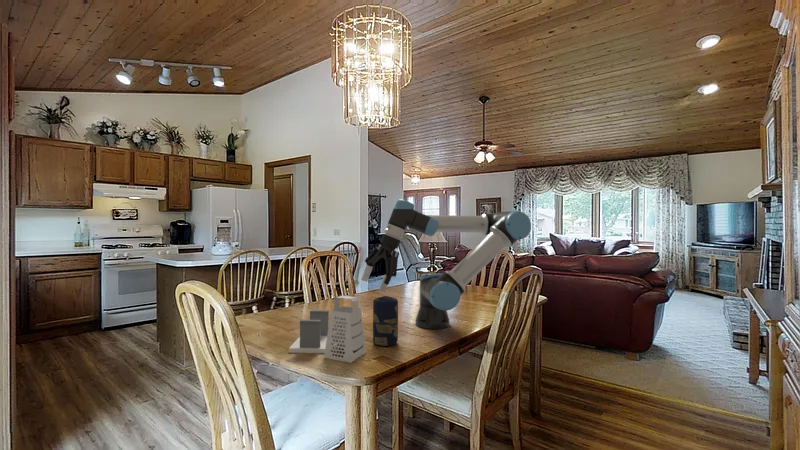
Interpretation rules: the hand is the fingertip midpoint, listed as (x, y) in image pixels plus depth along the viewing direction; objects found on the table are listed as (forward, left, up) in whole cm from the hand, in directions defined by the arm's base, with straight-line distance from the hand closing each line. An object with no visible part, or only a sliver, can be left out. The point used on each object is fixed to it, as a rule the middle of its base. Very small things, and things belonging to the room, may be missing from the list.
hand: (372, 286), depth 152 cm
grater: (+7, +21, -20) cm, 30 cm away
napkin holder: (+20, +12, -20) cm, 31 cm away
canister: (-6, +9, -20) cm, 23 cm away
